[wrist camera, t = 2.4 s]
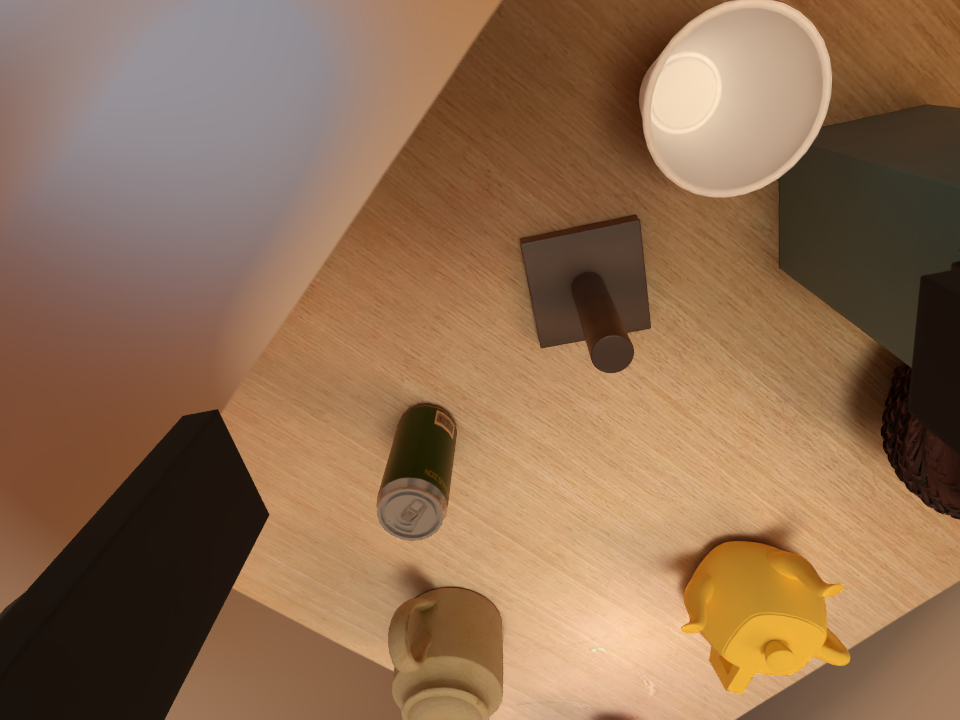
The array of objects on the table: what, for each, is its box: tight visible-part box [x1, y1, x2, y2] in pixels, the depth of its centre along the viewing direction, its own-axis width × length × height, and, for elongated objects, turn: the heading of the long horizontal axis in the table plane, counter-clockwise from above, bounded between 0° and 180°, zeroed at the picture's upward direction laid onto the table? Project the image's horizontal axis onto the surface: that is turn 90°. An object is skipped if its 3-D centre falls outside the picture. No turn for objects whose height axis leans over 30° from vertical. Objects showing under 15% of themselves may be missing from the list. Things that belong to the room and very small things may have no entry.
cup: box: [639, 0, 832, 197], centre depth 37 cm, size 10×10×11 cm
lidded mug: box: [388, 588, 503, 720], centre depth 59 cm, size 15×11×15 cm
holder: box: [520, 215, 651, 373], centre depth 43 cm, size 9×9×14 cm
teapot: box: [681, 541, 850, 694], centre depth 58 cm, size 14×13×10 cm
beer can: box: [377, 405, 457, 541], centre depth 50 cm, size 5×5×12 cm
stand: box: [779, 105, 960, 368], centre depth 36 cm, size 10×10×20 cm
